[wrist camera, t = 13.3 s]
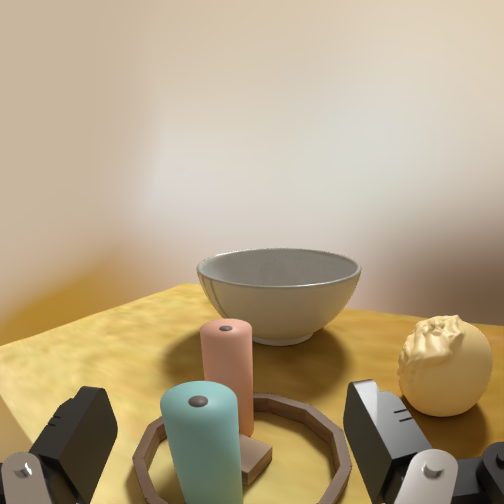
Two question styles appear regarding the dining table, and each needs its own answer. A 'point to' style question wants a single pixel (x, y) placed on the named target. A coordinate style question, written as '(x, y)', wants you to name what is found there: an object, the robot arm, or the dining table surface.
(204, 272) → the decorative bowl
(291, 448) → the dining table surface
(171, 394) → the teal cylinder
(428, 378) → the sculpture
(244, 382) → the pink cylinder
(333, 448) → the brown ring
